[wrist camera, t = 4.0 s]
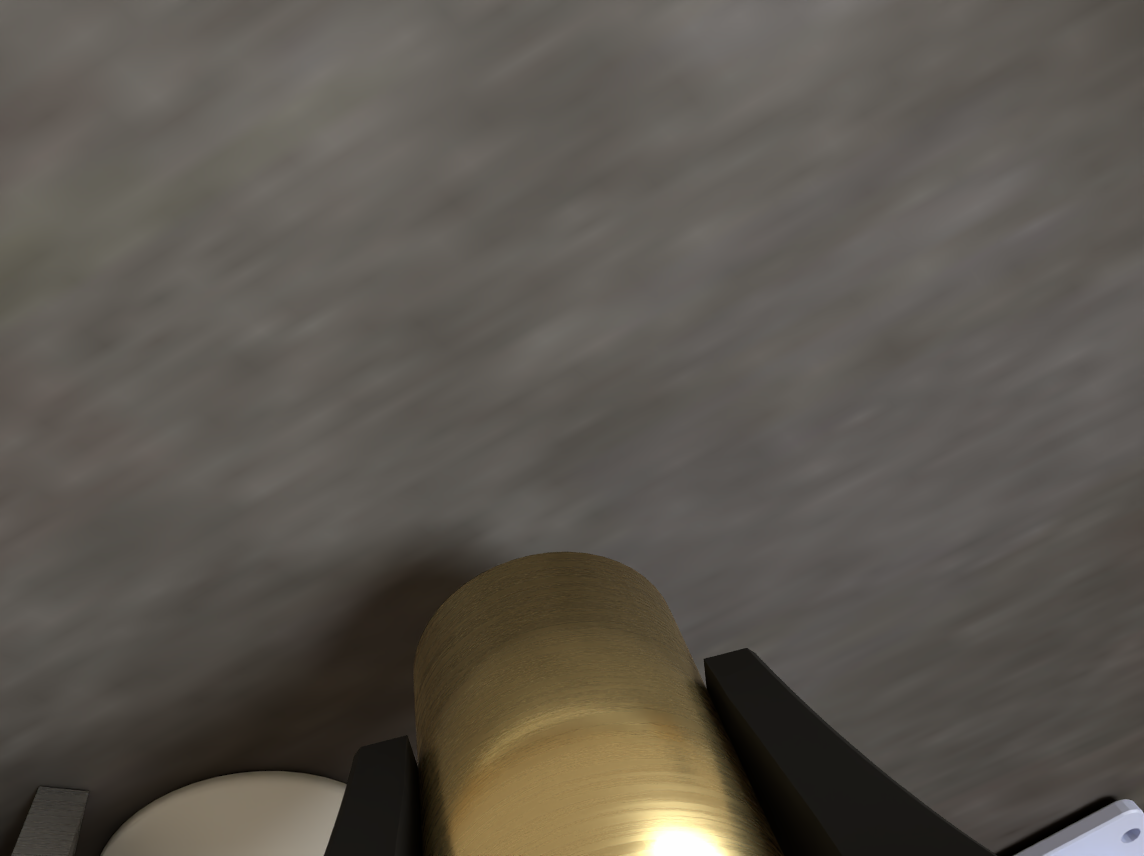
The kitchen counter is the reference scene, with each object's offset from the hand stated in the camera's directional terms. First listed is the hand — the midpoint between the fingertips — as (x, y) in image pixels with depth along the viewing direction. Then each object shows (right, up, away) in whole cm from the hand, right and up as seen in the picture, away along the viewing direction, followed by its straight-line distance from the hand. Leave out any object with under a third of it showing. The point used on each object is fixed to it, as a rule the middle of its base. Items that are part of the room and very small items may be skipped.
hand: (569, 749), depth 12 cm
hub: (0, +1, +1) cm, 2 cm away
